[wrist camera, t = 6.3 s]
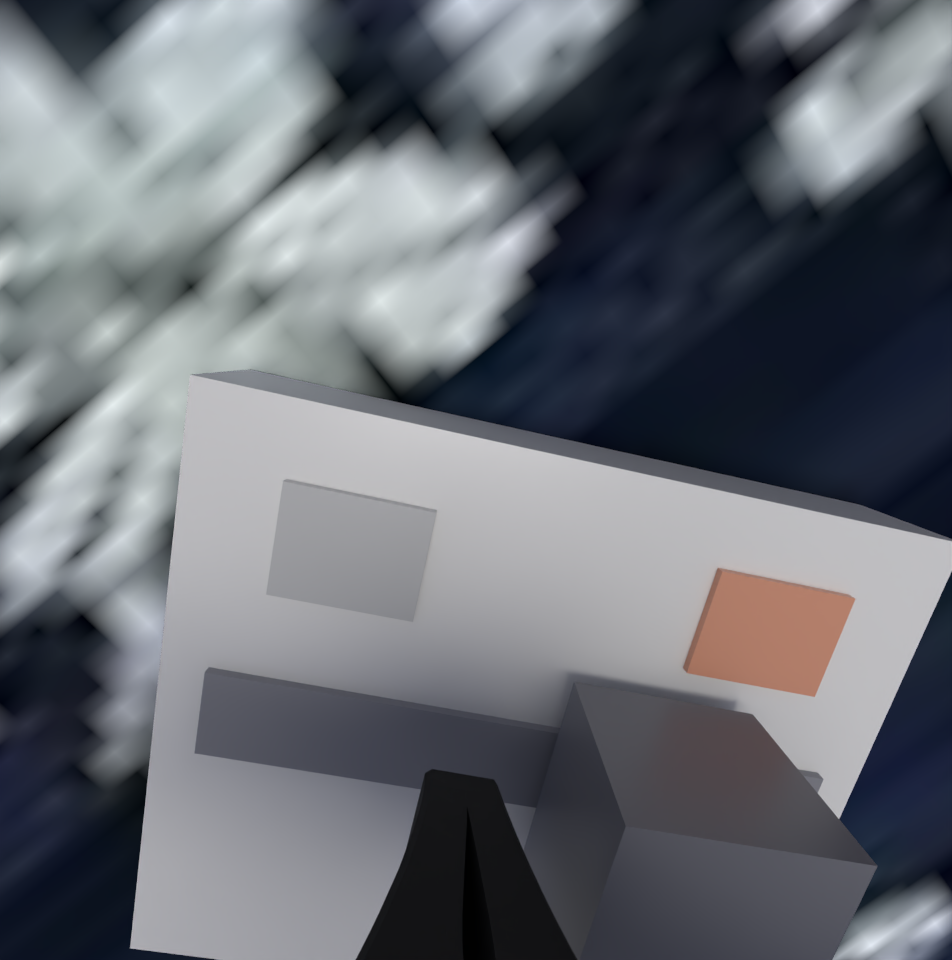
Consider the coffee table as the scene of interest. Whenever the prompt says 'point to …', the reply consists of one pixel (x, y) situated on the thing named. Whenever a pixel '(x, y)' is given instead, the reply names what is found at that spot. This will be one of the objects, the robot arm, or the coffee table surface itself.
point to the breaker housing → (465, 639)
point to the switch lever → (687, 837)
